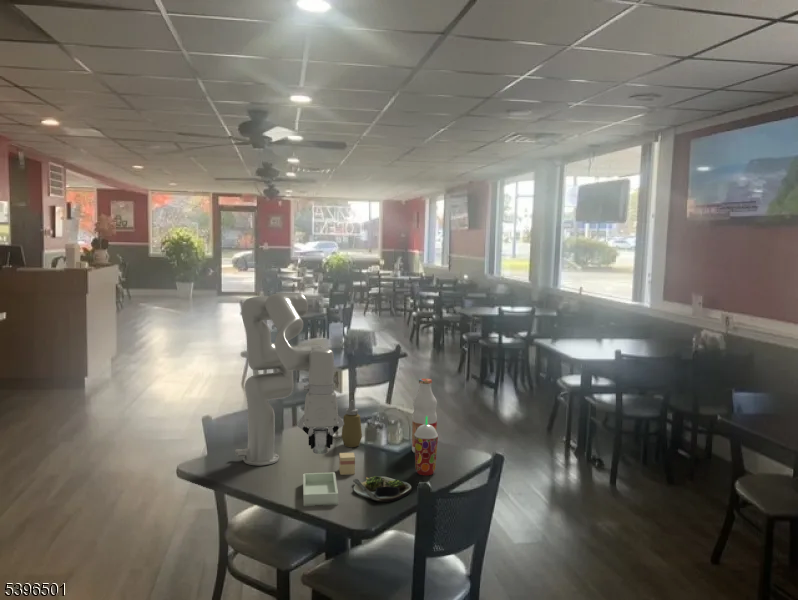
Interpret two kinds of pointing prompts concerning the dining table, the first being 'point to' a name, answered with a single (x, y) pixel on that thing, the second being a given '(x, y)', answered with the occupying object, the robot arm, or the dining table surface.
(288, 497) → the dining table surface
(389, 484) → the salad plate
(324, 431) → the steel can
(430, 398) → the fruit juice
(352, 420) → the squeeze bottle
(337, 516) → the dining table surface
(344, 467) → the cardboard box
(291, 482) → the dining table surface
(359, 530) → the dining table surface
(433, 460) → the smoothie
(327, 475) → the tote
